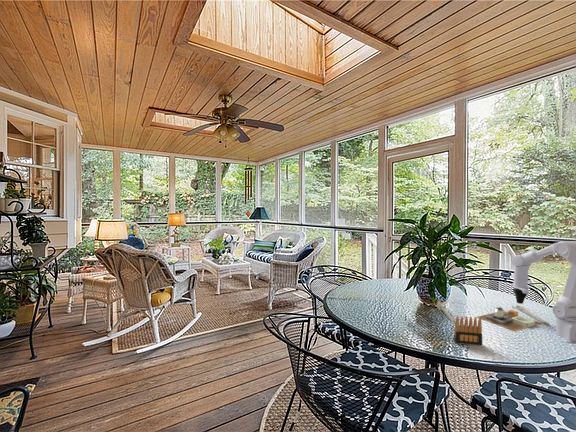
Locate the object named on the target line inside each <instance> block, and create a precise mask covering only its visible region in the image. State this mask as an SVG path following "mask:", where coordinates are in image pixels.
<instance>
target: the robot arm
mask: <svg viewBox="0 0 576 432" xmlns="http://www.w3.org/2000/svg"><path fill="white" fill-rule="evenodd" d="M553 254H558V255H559V256H561V257H562V258H563V259H565V260H566V261H567V262H569V263H570V264H571V265H570V268H569V270H568V271H569V272H568V274H567V279H566V282H565V286H564V290H563V293H562V296H561V297H559V299H557V300H556V303H555V304H553V306H552V308H551V309H552V313H553V315H555V318H556V321H555V335H557V336H559V337H560V338H563V339H565V340H567V341H566V343H568V344H570V343H571V344H576V241H563V240H562V241H558V242H553V244H551V245H548V246H546V247H544V248H542V249H540V250H538V249H529V250H528V251H527V252H522V253H521V255H518V254H517V255H514V256H512V259H511V263H512V264H513V266H514V270H513V283H512V285H513V288H512V291H513V293H514V296H515V300H516V303H517V304H521V305H523V304H524V301H525V299H526V297H527V295H528V294H529V289H531V286H528V283H529V282H528V281H529V270H530V266H532V264H534V263H538V262H540V261H541V262H542V260H543V258H545V257H547V256H550V255H553Z"/></svg>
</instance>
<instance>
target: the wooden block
mask: <svg viewBox="0 0 576 432" xmlns="http://www.w3.org/2000/svg"><path fill="white" fill-rule="evenodd" d="M507 312H508V315H504V320H505V318H509V317H513V316H515V317H517V316H519V312H518V310H515V309H514V310H513V309H511V310H507Z"/></svg>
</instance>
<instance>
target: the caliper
mask: <svg viewBox="0 0 576 432" xmlns="http://www.w3.org/2000/svg"><path fill="white" fill-rule="evenodd" d="M436 306H437V308H436V309H437V310H438V311H442V312H443V313H444V314H445V315H446V316H447V318H448V319H449V320H450V322H451V323H452V324H453V325H455V323H456V319H454V318H453V316H452V315H451V314H450V313H449V311H448V310H447V308H446V307H445V305H444V304H443V303H442V300H441V299H438V300H437V305H436Z"/></svg>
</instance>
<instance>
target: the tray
mask: <svg viewBox="0 0 576 432" xmlns="http://www.w3.org/2000/svg"><path fill="white" fill-rule="evenodd" d="M511 319H512V320H513V323H515V324H518V325H521V326H524V327H530V326H533V327H535V326H534V325H535V321H536V320H533V319H530V318H527V317H524V316H521V315H518V316H517V317H513V318H511ZM530 328H531V327H530Z"/></svg>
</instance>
